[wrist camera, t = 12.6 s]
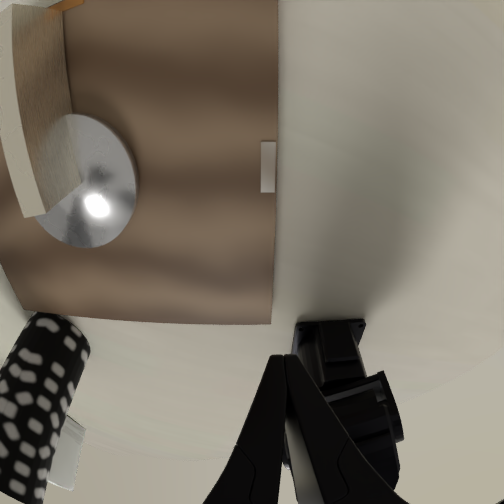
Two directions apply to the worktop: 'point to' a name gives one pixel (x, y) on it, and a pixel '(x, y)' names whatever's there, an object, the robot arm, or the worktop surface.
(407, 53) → the worktop surface
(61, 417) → the white-spotted black cylinder
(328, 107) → the worktop surface
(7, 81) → the cream block with dome
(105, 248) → the dial plate
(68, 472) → the skincare box
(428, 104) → the worktop surface
